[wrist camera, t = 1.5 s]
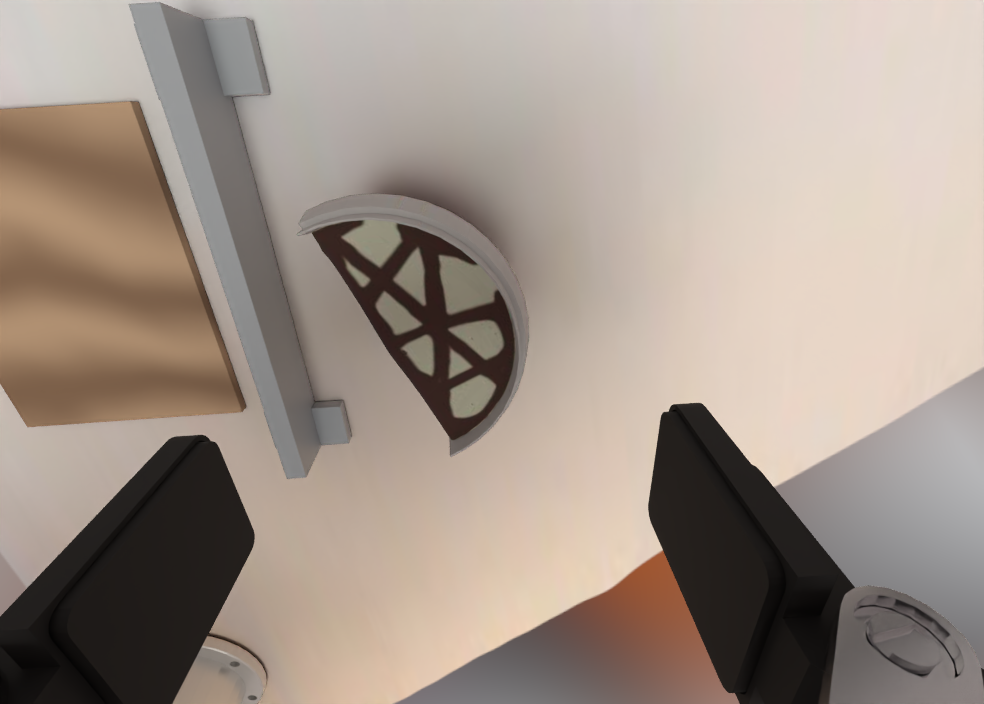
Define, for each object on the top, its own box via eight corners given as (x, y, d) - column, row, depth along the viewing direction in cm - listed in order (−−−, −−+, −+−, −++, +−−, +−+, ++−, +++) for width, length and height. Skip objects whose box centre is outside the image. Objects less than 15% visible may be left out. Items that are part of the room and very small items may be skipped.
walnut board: (246, 406, 30) (242, 411, 30) (35, 421, 30) (27, 427, 30) (138, 102, 22) (130, 101, 22) (-150, 119, 22) (-165, 119, 22)
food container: (545, 324, 29) (580, 412, 20) (460, 363, 30) (456, 465, 21) (452, 130, 24) (442, 132, 15) (353, 186, 25) (286, 220, 16)
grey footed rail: (351, 436, 32) (336, 475, 28) (280, 441, 32) (256, 480, 28) (252, 20, 21) (208, -1, 18) (145, 27, 21) (78, 6, 18)
